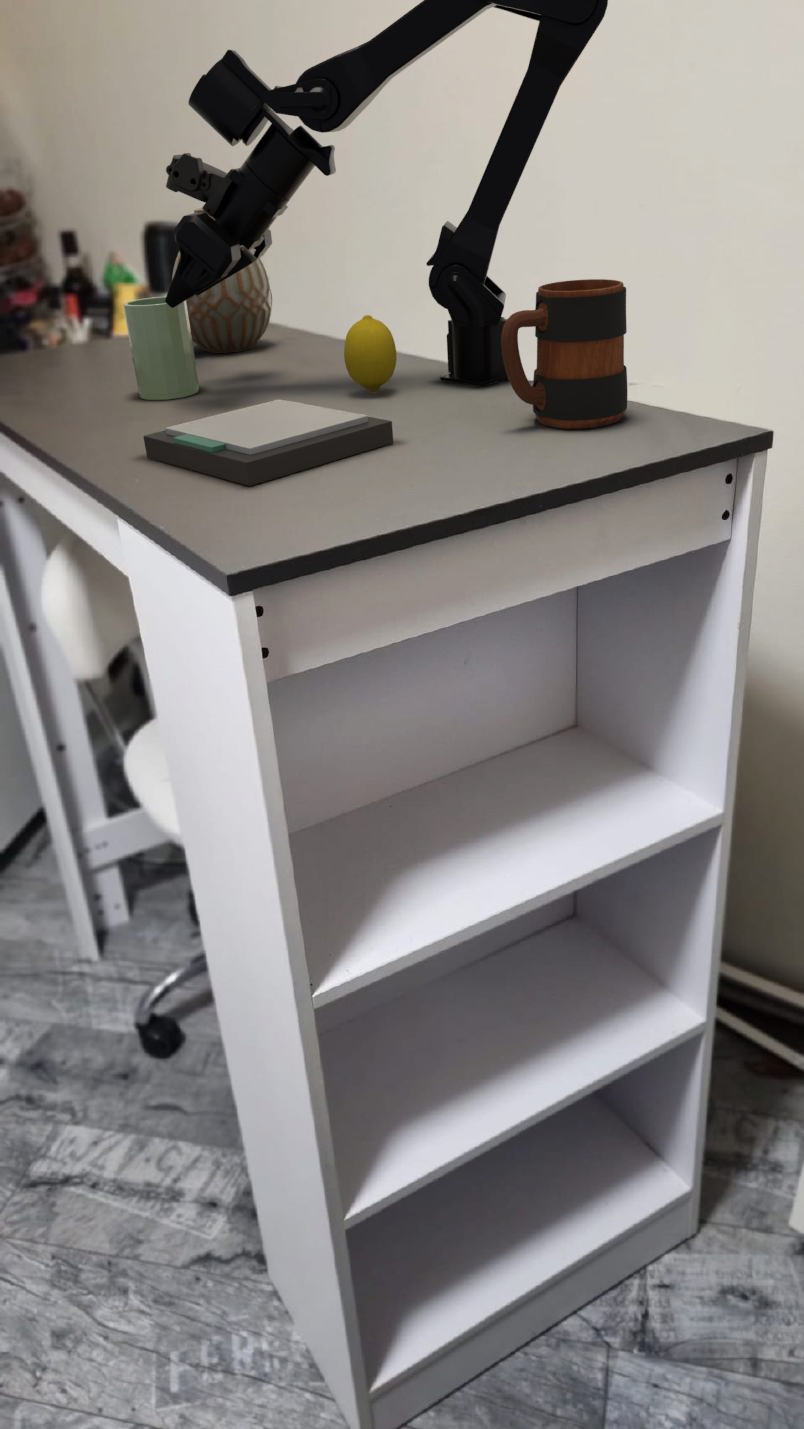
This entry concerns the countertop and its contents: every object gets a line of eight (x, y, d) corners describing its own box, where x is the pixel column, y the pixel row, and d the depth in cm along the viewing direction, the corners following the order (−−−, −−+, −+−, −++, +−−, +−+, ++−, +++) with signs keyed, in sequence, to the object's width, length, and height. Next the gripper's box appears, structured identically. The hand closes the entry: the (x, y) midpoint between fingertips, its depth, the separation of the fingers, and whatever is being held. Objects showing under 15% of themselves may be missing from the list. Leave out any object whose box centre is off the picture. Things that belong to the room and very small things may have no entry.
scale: (393, 443, 99) (391, 414, 97) (249, 486, 89) (245, 455, 88) (285, 420, 109) (282, 394, 108) (146, 457, 100) (141, 429, 99)
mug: (484, 421, 103) (480, 290, 98) (597, 403, 107) (599, 275, 101) (524, 441, 96) (522, 300, 91) (644, 421, 99) (649, 284, 94)
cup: (210, 391, 125) (196, 298, 120) (160, 402, 121) (144, 307, 116) (178, 384, 129) (164, 295, 125) (128, 396, 125) (112, 303, 121)
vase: (272, 336, 156) (256, 201, 148) (283, 351, 145) (266, 206, 136) (179, 346, 154) (158, 209, 146) (183, 362, 143) (160, 215, 134)
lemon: (405, 387, 119) (400, 310, 116) (388, 399, 115) (382, 319, 111) (358, 387, 121) (352, 311, 117) (339, 398, 117) (332, 320, 113)
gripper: (230, 121, 120) (150, 237, 126) (178, 122, 103) (90, 254, 110) (308, 196, 122) (226, 305, 129) (270, 209, 106) (178, 333, 113)
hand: (181, 298), depth 120 cm, fingers open, 9 cm apart
